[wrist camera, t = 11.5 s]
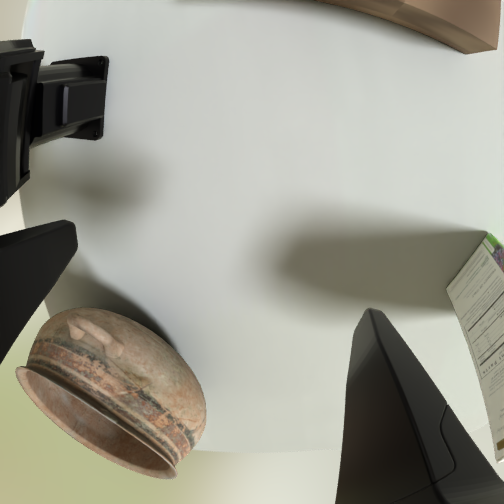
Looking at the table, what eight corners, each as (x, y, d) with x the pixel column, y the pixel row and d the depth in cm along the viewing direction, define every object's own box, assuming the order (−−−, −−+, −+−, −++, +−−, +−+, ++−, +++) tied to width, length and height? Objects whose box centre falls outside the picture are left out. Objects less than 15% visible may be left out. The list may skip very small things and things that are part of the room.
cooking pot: (60, 224, 25) (-31, 296, 15) (246, 287, 23) (189, 427, 13) (95, 372, 38) (54, 432, 28) (212, 422, 37) (184, 497, 26)
